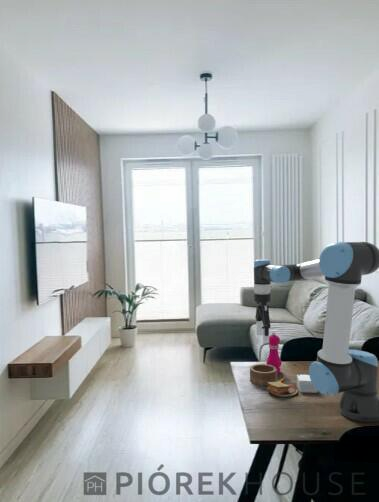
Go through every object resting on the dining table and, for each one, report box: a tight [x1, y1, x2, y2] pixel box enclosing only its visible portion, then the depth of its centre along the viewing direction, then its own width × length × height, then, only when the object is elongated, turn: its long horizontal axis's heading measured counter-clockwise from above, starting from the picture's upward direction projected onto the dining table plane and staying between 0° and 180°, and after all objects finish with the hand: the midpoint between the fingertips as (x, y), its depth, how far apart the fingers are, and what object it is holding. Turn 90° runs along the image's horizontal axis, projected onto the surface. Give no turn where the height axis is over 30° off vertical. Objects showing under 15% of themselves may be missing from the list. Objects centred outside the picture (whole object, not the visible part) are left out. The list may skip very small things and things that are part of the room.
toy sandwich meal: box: [266, 377, 299, 398], centre depth 160 cm, size 12×14×5 cm
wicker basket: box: [249, 363, 278, 387], centre depth 172 cm, size 12×12×6 cm
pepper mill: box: [266, 331, 282, 375], centre depth 184 cm, size 7×7×20 cm
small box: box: [296, 374, 319, 394], centre depth 163 cm, size 8×8×5 cm
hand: (262, 338), depth 172 cm, fingers open, 13 cm apart
